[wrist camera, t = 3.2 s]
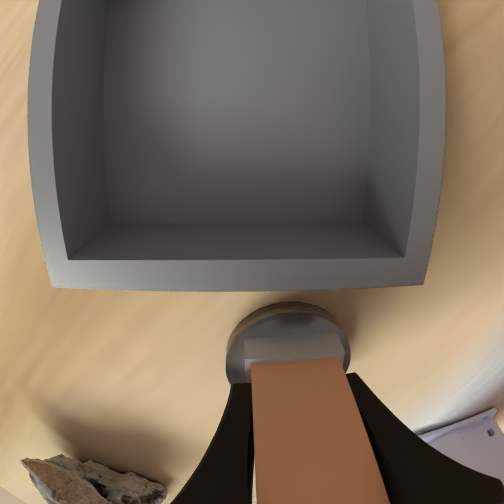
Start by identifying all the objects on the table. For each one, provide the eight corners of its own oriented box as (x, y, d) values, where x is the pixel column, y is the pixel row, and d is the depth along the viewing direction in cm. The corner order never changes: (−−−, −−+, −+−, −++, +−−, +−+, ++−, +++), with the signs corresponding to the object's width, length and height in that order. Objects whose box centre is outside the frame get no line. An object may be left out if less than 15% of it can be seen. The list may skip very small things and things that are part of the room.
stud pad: (353, 299, 12) (361, 313, 11) (333, 387, 13) (338, 402, 12) (223, 303, 11) (222, 317, 10) (229, 392, 13) (228, 408, 12)
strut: (336, 331, 11) (401, 501, 4) (326, 392, 12) (364, 535, 6) (244, 337, 11) (248, 527, 4) (247, 398, 12) (253, 551, 6)
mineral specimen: (117, 438, 23) (140, 416, 17) (161, 508, 20) (204, 514, 14) (29, 465, 16) (11, 455, 10) (75, 542, 12) (81, 570, 7)
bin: (376, -18, 7) (422, -59, 4) (374, 239, 11) (423, 284, 7) (100, -16, 7) (54, -54, 3) (100, 241, 10) (52, 287, 7)
